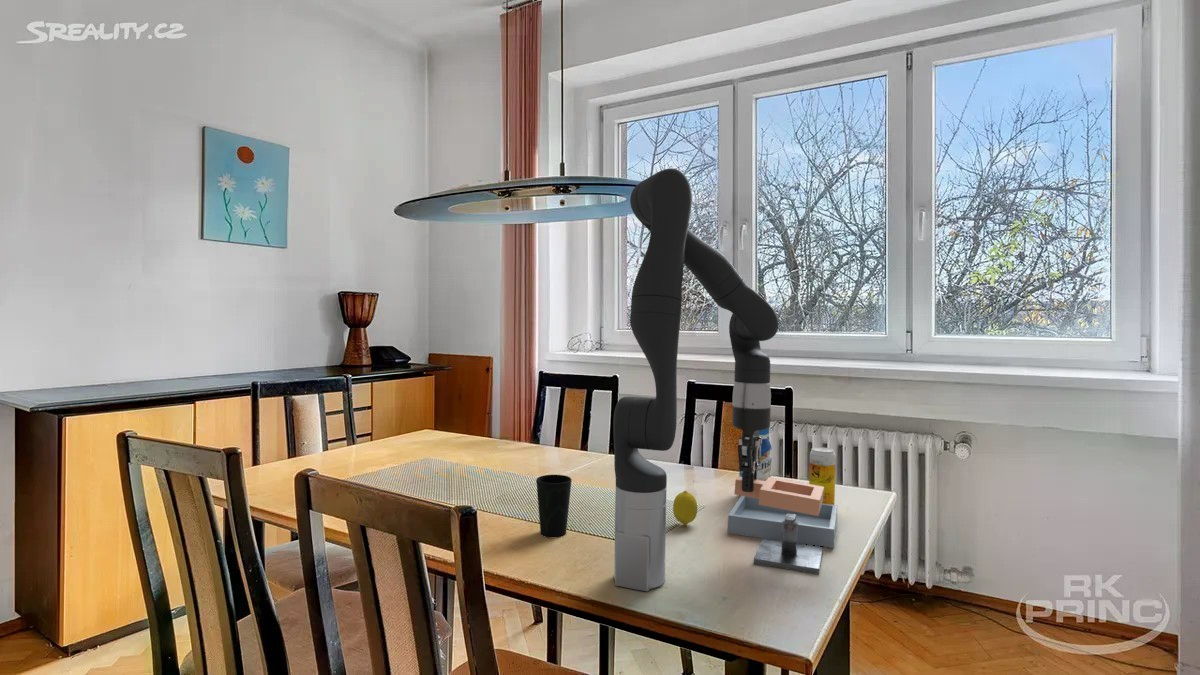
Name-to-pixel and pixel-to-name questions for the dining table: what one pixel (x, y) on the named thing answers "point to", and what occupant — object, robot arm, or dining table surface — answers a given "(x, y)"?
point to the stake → (789, 550)
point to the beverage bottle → (764, 458)
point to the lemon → (685, 507)
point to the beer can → (823, 472)
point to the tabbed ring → (785, 495)
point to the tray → (768, 522)
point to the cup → (553, 504)
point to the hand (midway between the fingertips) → (749, 489)
